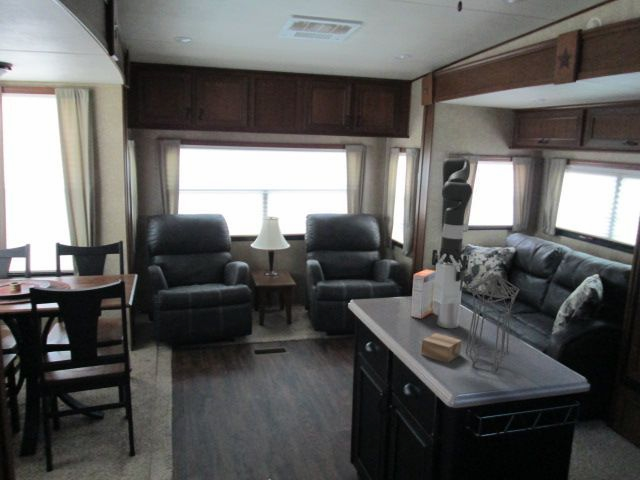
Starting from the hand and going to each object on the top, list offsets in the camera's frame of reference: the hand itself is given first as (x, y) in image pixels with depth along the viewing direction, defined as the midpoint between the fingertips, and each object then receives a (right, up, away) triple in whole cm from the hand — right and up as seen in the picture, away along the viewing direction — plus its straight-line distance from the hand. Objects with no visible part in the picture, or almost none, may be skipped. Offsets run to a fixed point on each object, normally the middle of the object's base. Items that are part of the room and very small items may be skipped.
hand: (448, 279), depth 198 cm
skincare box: (-1, -9, +2) cm, 9 cm away
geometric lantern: (+13, -32, -4) cm, 35 cm away
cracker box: (0, -21, +54) cm, 58 cm away
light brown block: (-2, -30, +5) cm, 30 cm away
